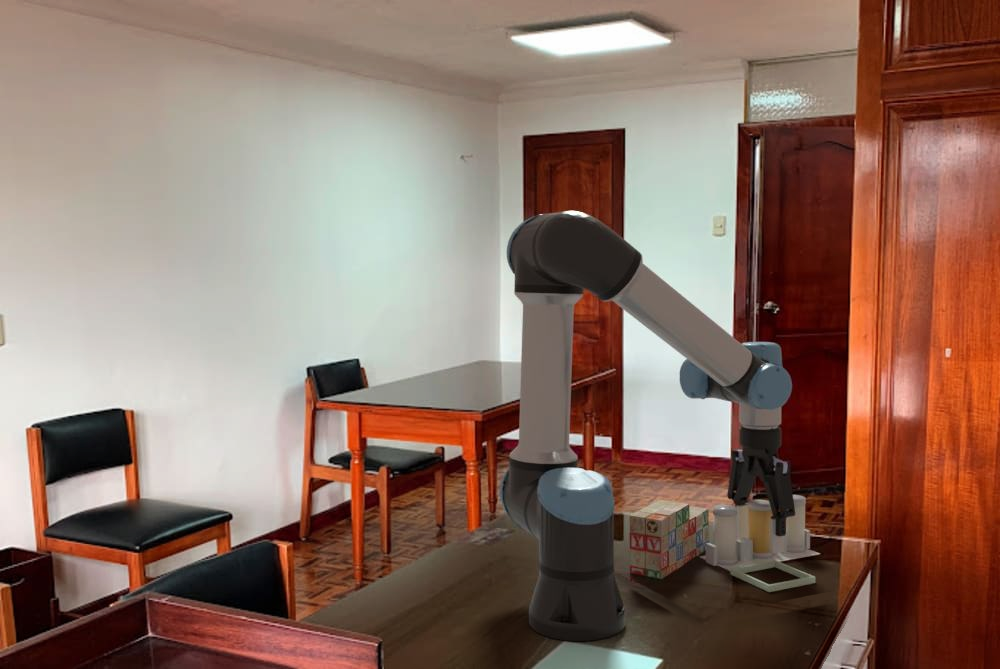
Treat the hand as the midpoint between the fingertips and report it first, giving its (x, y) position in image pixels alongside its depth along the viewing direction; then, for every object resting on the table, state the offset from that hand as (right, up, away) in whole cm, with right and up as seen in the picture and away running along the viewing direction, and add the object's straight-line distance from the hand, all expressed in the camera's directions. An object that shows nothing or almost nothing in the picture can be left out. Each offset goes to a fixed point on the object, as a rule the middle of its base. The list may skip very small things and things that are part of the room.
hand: (759, 545), depth 171 cm
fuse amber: (0, -2, 0) cm, 2 cm away
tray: (-1, -4, -12) cm, 13 cm away
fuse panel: (0, -3, 0) cm, 3 cm away
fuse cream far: (+7, -2, +3) cm, 8 cm away
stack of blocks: (-17, -4, -1) cm, 17 cm away
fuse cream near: (-7, -2, -3) cm, 8 cm away
